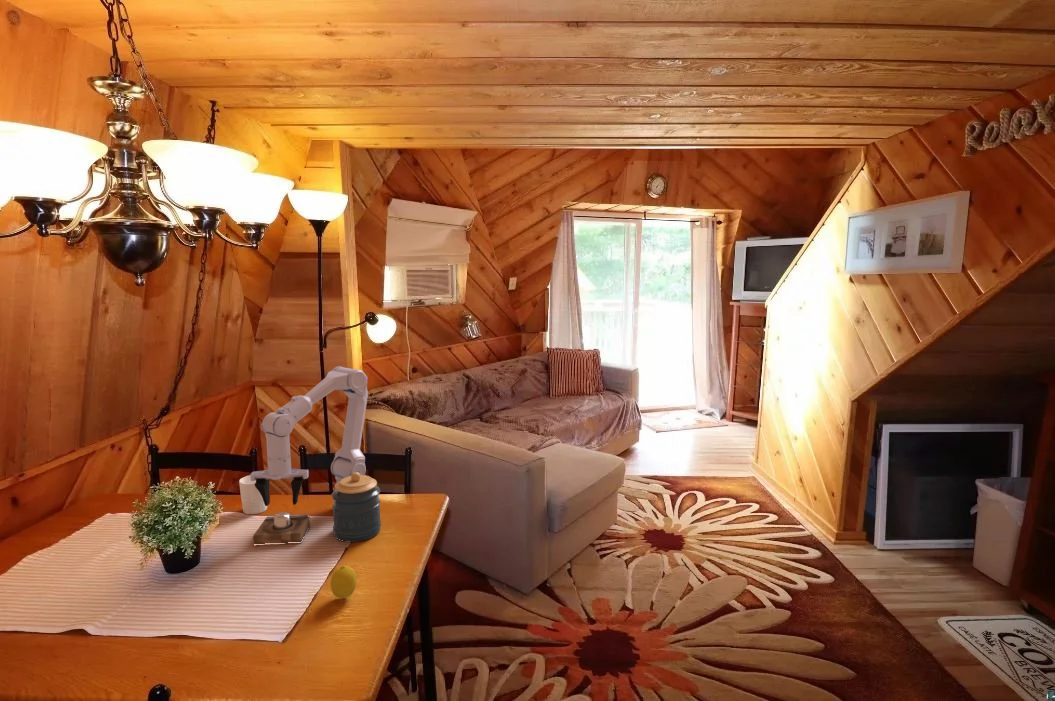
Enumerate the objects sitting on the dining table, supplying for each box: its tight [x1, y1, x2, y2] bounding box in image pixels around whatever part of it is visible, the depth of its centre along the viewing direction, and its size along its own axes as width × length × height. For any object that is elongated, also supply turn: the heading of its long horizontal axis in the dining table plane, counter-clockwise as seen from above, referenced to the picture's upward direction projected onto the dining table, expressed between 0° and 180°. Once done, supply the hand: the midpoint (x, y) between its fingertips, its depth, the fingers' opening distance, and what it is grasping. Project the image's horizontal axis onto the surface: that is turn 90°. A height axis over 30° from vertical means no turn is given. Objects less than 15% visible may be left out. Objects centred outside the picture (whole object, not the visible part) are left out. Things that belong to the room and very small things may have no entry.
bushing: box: [273, 511, 291, 530], centre depth 149 cm, size 4×4×6 cm
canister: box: [331, 472, 382, 543], centre depth 151 cm, size 13×13×18 cm
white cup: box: [238, 474, 269, 515], centre depth 164 cm, size 8×8×10 cm
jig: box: [252, 514, 311, 545], centre depth 149 cm, size 12×10×4 cm
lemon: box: [330, 564, 357, 600], centre depth 121 cm, size 6×6×8 cm
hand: (281, 503), depth 148 cm, fingers open, 7 cm apart
